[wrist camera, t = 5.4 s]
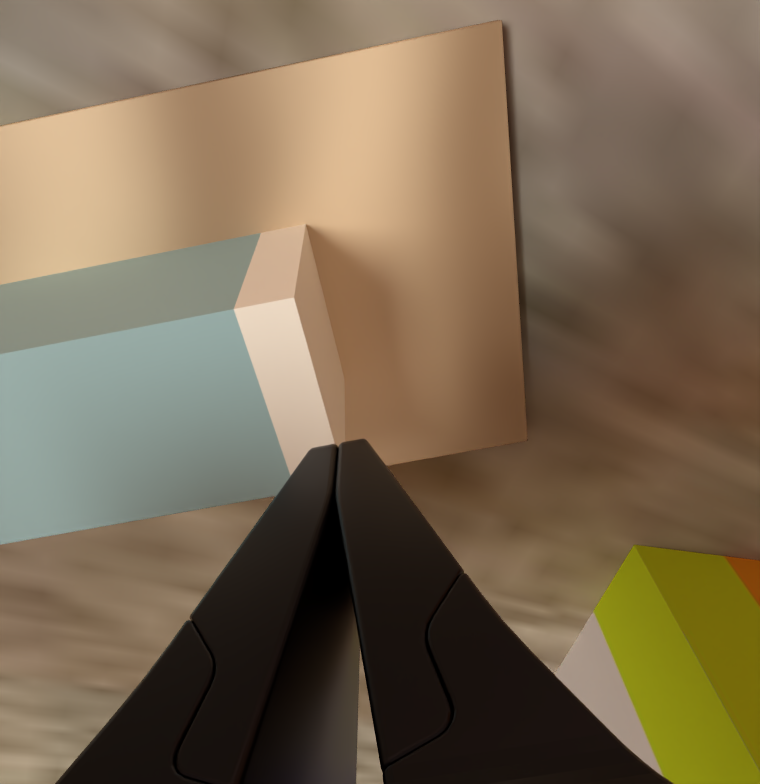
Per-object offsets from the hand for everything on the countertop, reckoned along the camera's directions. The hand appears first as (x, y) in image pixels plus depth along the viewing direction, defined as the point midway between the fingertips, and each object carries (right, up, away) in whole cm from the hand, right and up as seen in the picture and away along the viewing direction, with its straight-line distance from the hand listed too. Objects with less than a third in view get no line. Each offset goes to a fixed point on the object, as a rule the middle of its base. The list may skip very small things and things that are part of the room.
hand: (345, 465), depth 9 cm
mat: (-3, +3, +6) cm, 7 cm away
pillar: (-1, +2, +3) cm, 4 cm away
